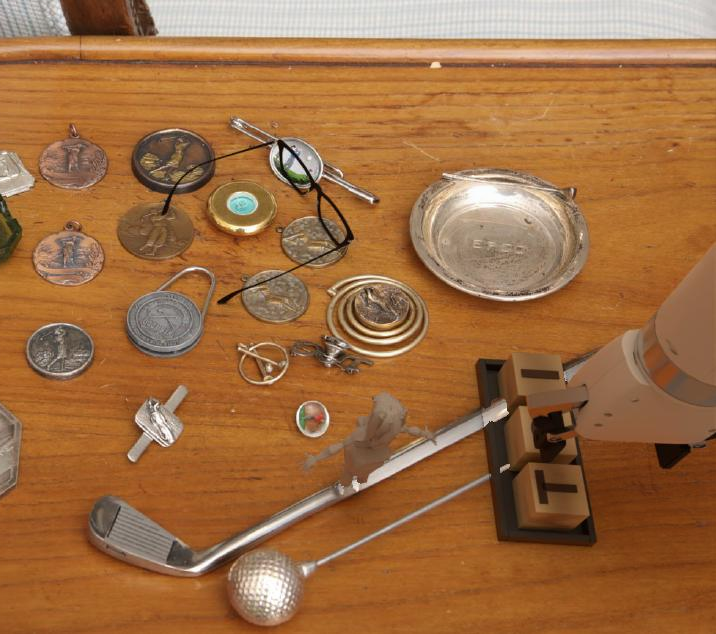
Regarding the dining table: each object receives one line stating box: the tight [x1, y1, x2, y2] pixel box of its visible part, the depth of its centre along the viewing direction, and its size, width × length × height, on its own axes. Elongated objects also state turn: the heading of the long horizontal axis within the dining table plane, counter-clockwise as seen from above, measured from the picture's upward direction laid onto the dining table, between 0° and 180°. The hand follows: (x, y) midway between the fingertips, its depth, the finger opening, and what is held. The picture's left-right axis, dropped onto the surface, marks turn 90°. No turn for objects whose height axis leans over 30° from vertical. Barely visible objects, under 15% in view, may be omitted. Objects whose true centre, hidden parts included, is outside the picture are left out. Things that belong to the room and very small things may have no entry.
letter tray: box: [474, 357, 598, 548], centre depth 85 cm, size 8×18×2 cm, turn 176°
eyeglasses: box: [161, 138, 355, 305], centre depth 97 cm, size 16×16×4 cm
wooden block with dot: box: [503, 406, 578, 472], centre depth 83 cm, size 4×4×5 cm
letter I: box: [497, 351, 566, 417], centre depth 86 cm, size 4×4×5 cm
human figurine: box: [298, 391, 438, 488], centre depth 76 cm, size 12×4×18 cm, turn 103°
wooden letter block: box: [512, 462, 590, 532], centre depth 80 cm, size 4×4×5 cm
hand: (601, 449), depth 77 cm, fingers open, 9 cm apart
